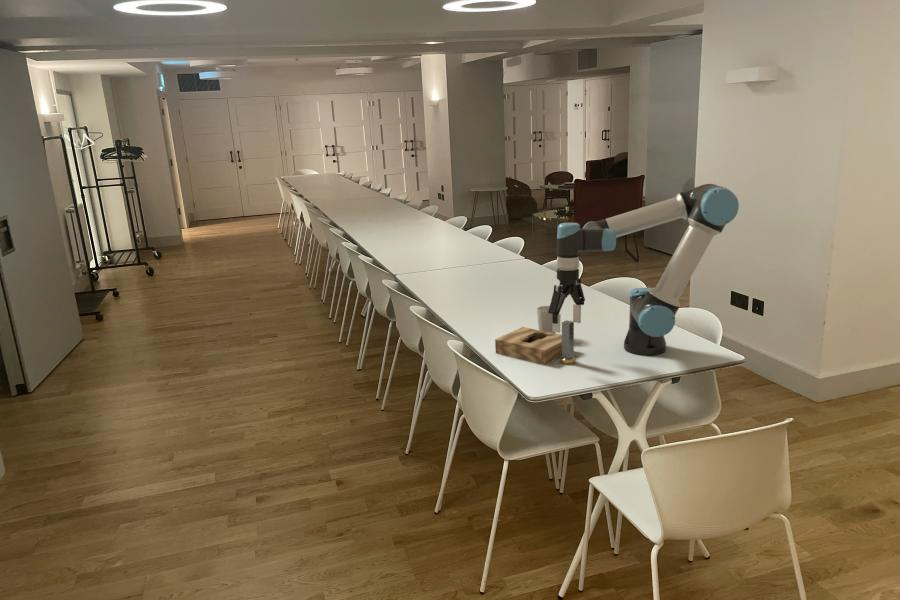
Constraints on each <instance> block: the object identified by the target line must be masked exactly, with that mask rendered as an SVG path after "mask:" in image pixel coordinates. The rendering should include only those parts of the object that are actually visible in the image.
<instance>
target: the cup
mask: <svg viewBox="0 0 900 600" xmlns="http://www.w3.org/2000/svg"><path fill="white" fill-rule="evenodd" d="M549 307H550V305H542V306H538V307H536V313H537V314H536V315H537V327H538V330H541V331H546V332H551V333H556V332H553V331H552V328H553V322H552V314H551V313H548V311H549Z"/></svg>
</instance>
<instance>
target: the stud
mask: <svg viewBox="0 0 900 600" xmlns="http://www.w3.org/2000/svg"><path fill="white" fill-rule="evenodd" d="M574 330H575V322H573V320H572V321H571V320H567V319H566V320H564V321H562V322H561V335H562V356H561V357H560V364H563V365H566V366H567V365H574V364H575V363H576V358H575V357H574V353H575V352H574V350H575V349H574V347H575V345H574V343H575V339H574V337H575V333H574Z"/></svg>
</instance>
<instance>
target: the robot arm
mask: <svg viewBox="0 0 900 600" xmlns="http://www.w3.org/2000/svg"><path fill="white" fill-rule="evenodd" d="M738 212H739V201H738V198H737V195H735V193H734V192H733V191H731V190H730V189H728V188H727V187H723V186H720V185H717V184H713V183H705V184H701V185H698V186H695V187H693V188H690V189H687V190H684V191H681V192H678V193H677V194H676V196H675V197H671V198H669V199H665V200H662V201H658V202H656V203H653V204H650V205H646V206H642V207H639V208H637V209H633V210H630V211H627V212H624V213H621V214H617V215H614V216H612V217H607V218H605V219H601V220H598V221H597V220H596V221H588V222H587V223H585V224H584V226H583V227H582V228H581V225H580V224H579V223H578V222H563V223H559V224H558V226H557V235H556V243H557V244H556V257H557V258H556V268H557V269H556V280H558V281H559V285H558V284H554V285H553V292H552V293H553V294H552V297H551V299H550V304H549V306H550V307H549V311H548V313H551V314H552V322H553V328H552V331H553V332H555V333H556V334H560V333H561V321H562V320H561V313H560V312H561V310H562V308H563V305H564V303H565V300H566V299H567V298H568V296H570V297H571V299H572V300H573V303H574V304H573V306H572V307H573V308H572V309H573V310H572V311H573V313H572V321H573V322H574V323H577V324H581V323H582V322H581V321H582V320H581V319H582V306H584V305H585V301H586V298H585V295H584V290H583V287H582V284H581V283H582V282H581V281H582V279H581V278H580V271H579V270H580V269H579V267H580V252H608V251H609V252H610V251H611V252H612V251H614V250H615V249H616V248H617V247H616V246H617V245H616V244H617V238H619V237H622V236H625V235H629V234H633V233H636V232H640V231H642V230H646V229H649V228H653V227H656V226H659V225H663V224H666V223H669V222H673V221H676V220H679V219H683V220H684V221H686V220H687V221H688V224H689V225H688V226H687V228H686V230H685V231H684V233H683V236H682V238H681V239H680V241H679V243H678V245H677V246H676V249H675V251H674V253H673V254H672V255H671V258H670V260H669V262H668V263H667V265H666V267H665V269H664V271H663V273H662V275H661V276H660V279H659V280H658V282H657V284H656V286H655V287H635V288H633V289H631V290H630V292H629V293H630V294H629V321H628V322H629V323H628V330H627V332H626V335H625V339H624V340H623V349H624V350H625V351H626V352H628V353H630V354H634V355H640V356H655V355H660V354H663V353H665V352H666V351H667V342H666V338H665V336H666V335H668V334H669V333H670V332H671V331H672V330H673V329H674V328H675V327H674V326H675V324H676V314H677V313H678V311H679V308H681V304H680V297H681V295H683V292H684V291H685V289H686V287H687V285H688V283H689V281H690V279H691V278H692V276H693V274H694V272H695V271H696V269H697V267H698V265H699V263H700V262H701V260H702V259H703V257H704V254H705V253H706V250H707V249H708V247H709V246H710V243H711V242H712V241H713V238H714V237H715V236H717V235H720V234H721V233H722V232H723V230H724V228H725V226H726V225H727V224H730V222H732V221H733V220H734V219H735V218H736V217H737V215H738Z"/></svg>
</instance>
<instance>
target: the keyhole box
mask: <svg viewBox="0 0 900 600" xmlns="http://www.w3.org/2000/svg"><path fill="white" fill-rule="evenodd" d="M494 340H495V341H494V342H495V343H494V344H495V345H494V346H495V347H494V348H495V354H498V355H503V356H506V357H511V358H513V359H514V358H515V359H517V360H523V361H527V362H531V363H535V364H540V365H544V366H546V365H548V364H550V363H551V362H553V361H555V360H557V359H558V358H561V357H562V334H560V333H557V332H555V333H551V332H546V331H541V330H539V329H535V328H530V327H526V326H525V327H524V326H522V327H519V328H518V329H515V330H512V331H510V332H508V333H506V334H503V335H502V336H500V337H497V338H495V339H494Z"/></svg>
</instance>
